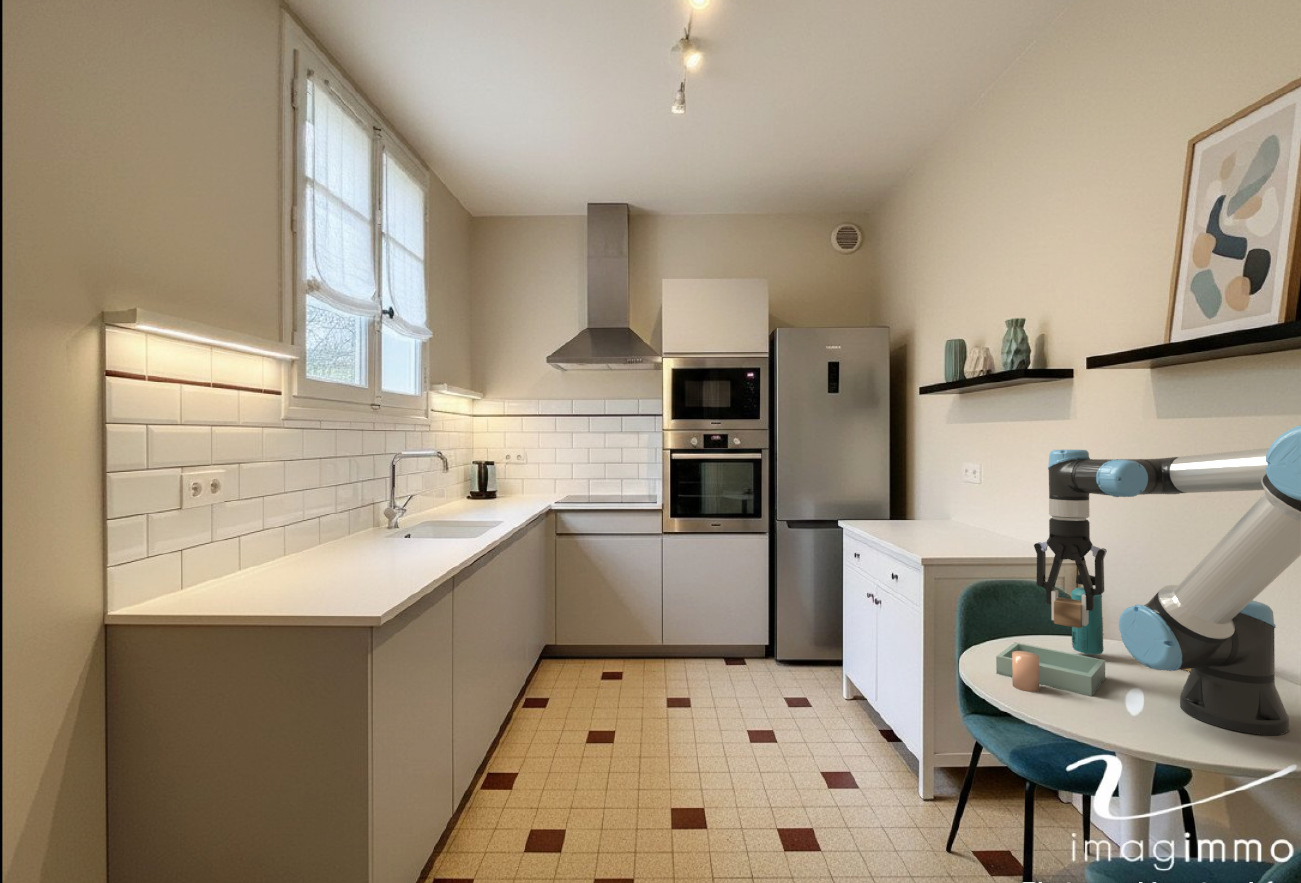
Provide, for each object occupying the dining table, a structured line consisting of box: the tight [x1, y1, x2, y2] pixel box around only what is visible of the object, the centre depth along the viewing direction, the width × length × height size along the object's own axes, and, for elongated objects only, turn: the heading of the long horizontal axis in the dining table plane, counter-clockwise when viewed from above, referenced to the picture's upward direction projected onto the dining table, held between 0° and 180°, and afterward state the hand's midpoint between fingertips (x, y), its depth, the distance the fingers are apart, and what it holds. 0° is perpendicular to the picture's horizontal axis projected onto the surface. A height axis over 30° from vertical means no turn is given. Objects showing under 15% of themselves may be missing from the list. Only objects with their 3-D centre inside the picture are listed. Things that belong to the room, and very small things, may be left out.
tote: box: [995, 642, 1106, 697], centre depth 140 cm, size 18×14×4 cm
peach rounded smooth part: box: [1011, 651, 1041, 693], centre depth 134 cm, size 5×5×7 cm
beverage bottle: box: [1070, 573, 1104, 655], centre depth 152 cm, size 6×7×20 cm
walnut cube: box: [1053, 596, 1083, 628], centre depth 139 cm, size 5×5×5 cm
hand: (1069, 621), depth 139 cm, fingers closed on walnut cube, 5 cm apart
